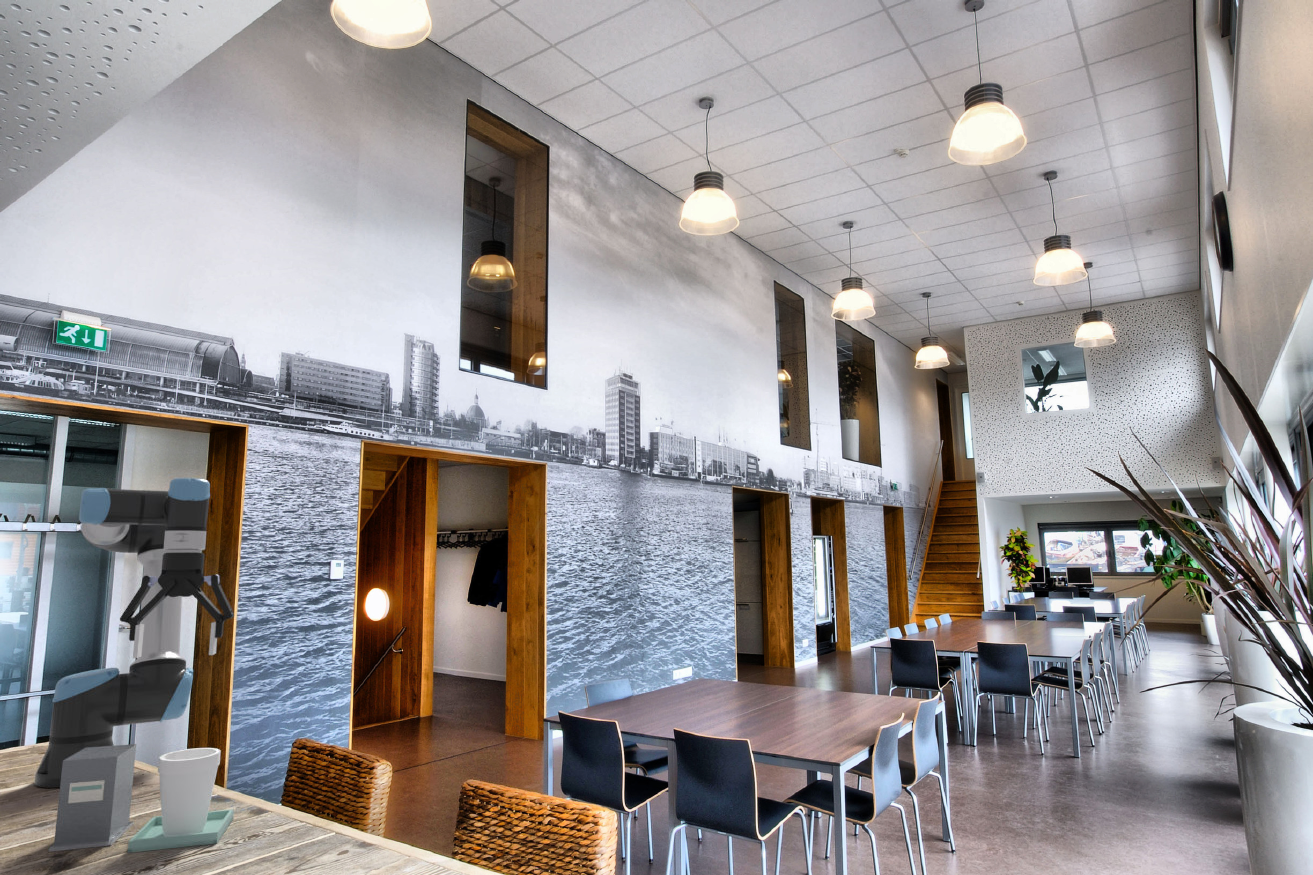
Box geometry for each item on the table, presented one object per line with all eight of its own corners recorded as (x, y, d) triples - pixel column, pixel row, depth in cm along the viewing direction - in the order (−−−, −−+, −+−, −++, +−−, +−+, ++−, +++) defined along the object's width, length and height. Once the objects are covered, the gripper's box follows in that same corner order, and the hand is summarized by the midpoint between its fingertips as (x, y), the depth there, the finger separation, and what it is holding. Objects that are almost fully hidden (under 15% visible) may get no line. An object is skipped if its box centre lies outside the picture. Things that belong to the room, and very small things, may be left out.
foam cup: (139, 836, 133) (146, 758, 136) (188, 820, 142) (194, 746, 144) (179, 843, 130) (185, 762, 132) (226, 825, 139) (232, 749, 141)
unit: (75, 830, 139) (83, 747, 141) (132, 824, 142) (140, 743, 144) (48, 851, 129) (58, 761, 131) (111, 845, 131) (119, 756, 134)
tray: (152, 827, 140) (153, 816, 140) (233, 819, 144) (233, 808, 144) (127, 852, 128) (128, 841, 128) (216, 843, 132) (217, 831, 132)
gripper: (108, 551, 155) (97, 660, 151) (246, 551, 162) (239, 654, 159) (121, 552, 162) (111, 656, 158) (253, 551, 169) (246, 651, 166)
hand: (175, 655), depth 158 cm, fingers open, 13 cm apart
